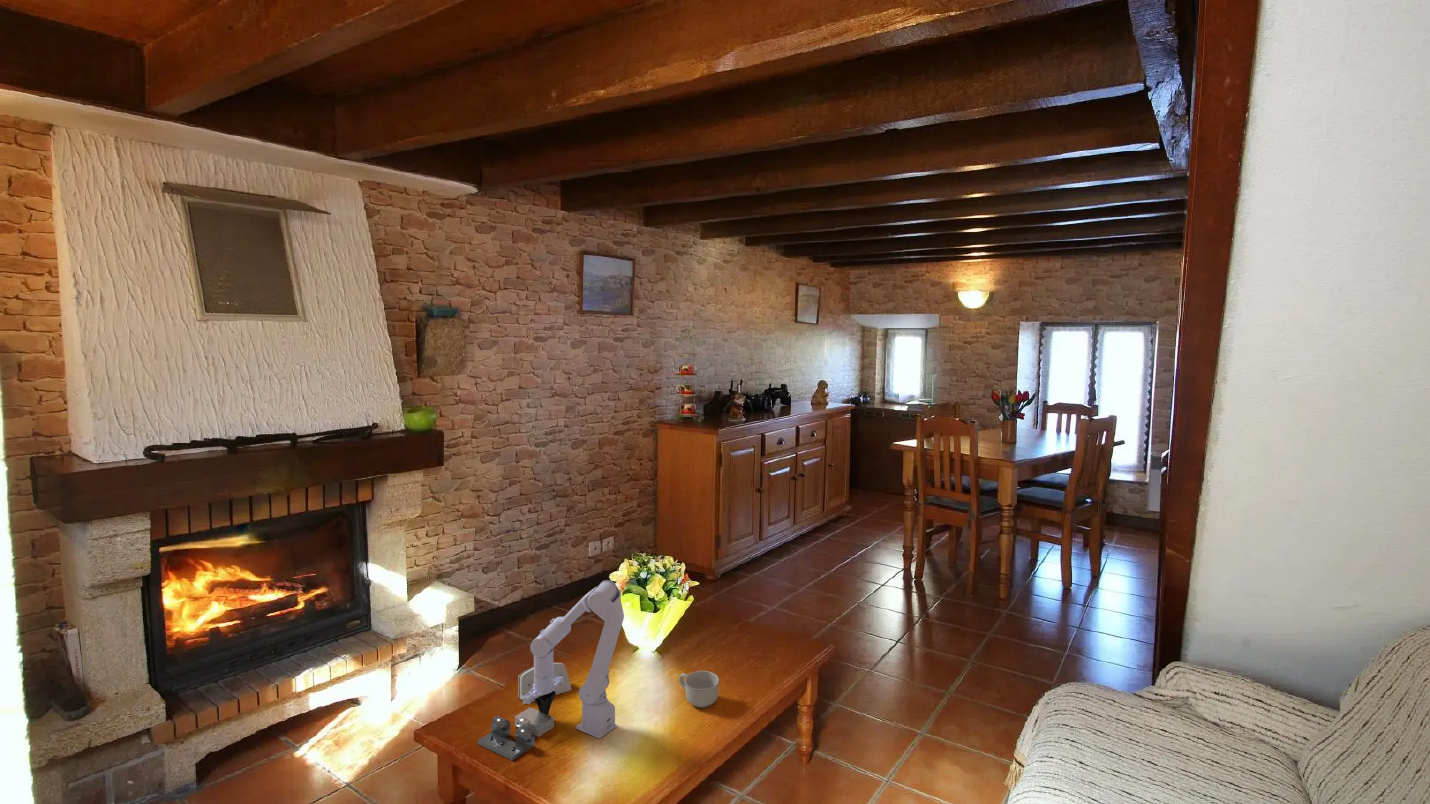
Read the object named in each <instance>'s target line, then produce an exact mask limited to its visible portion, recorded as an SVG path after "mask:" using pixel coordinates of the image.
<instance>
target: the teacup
mask: <svg viewBox="0 0 1430 804" xmlns="http://www.w3.org/2000/svg"><path fill="white" fill-rule="evenodd" d="M683 678H684V680H683ZM678 682H679V683H680V685H681V687H682V688H683V689H684V690H685V697H686V700H687V701H688V702H689V703H690V704H691V705H692V706H694V707H696V708H700V709H701V708H708V707H710V706H712V705H713V704H714V703H716V701H717V700H718V697H719V683H720V679H719V676H718V675H717V674H715V673H714V672H711V671H708V670H697V671H693V672H690V673H688V674H687V673H685V672H683V673H680V675H679V676H678Z"/></svg>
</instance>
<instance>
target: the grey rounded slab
mask: <svg viewBox="0 0 1430 804" xmlns="http://www.w3.org/2000/svg"><path fill="white" fill-rule="evenodd" d="M553 666H554V678H555V677H558V676H561V677H563V684H561V685H560V684H559V685H557V687H556V688H555V689H554V690H553V691H555V692H556V695H560V693H561V694H564V693H566V692H570V691H572V689H573V688H572V685H571V681H570V679H569V674H568V671H567V667H566V665H565V664H564V663H562V662H555V661H553ZM517 682H518V685H517V686H518V689H517V691H518V692H517V696H518V697H517V698H518V699H519V700H522V704H523V705H527V704H526V703H524V696H525V695H527V694H528V693H529V691H530V690H531V689H532V688H533V684H534V666H531V667H530V668H528V669H526V670H524V671H523V672H521V673H520V674H519V675H518V678H517ZM533 702H535V700H533V701H531V703H533Z"/></svg>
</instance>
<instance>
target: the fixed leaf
mask: <svg viewBox="0 0 1430 804" xmlns="http://www.w3.org/2000/svg"><path fill="white" fill-rule="evenodd" d="M490 725H491V731H490V732H489V733H488V734H485V735H484V736H482V737H481V738H479V739H477V744H478V745H479V746H481V747H483V748H484V749H487V750H489V751H491V752H493V753H495V754H497V755H499V756H502V757H504V758H506V759H508V760H510V761H512V762H513V761H515V760H516V759H518V758H519V757H521V756H522V755H523V754H525V753H527V752H528V751H530V750H531V749H532V748H534V747H535V735H534V732H533V731H531V730H528V729H526V728H524V727H522V726H520V727H519V728H518V729H517V730H516V729H515V732H514V736H515V737H514V738H515V741H513V740H511V739H509V738H508V737H509V736H511V722H510V721H509V720H508V719H506V718H503V717H502V716H499V715H495V716H494V717H493V718H492V720H491V724H490Z"/></svg>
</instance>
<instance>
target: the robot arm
mask: <svg viewBox="0 0 1430 804" xmlns="http://www.w3.org/2000/svg"><path fill="white" fill-rule="evenodd" d="M621 596H622V591H621V590H620V589H619V587H618V586H617V584H616V583H615V581H614V582H613V581H611V580H603V581H601V582H600V583H599V584H598V585H597V586H595V587H594V588H592V589H591V590H590V591H588V592H587V593H586V594H585V595H584V596H582V598H581V599H580V600H579V601H578V602H577V603H576V604H575V605H574V606H572V608H571V609H570V610H569V611H568V612H567V613H566V614H565V615H564V616H557V617H556V618H554V617H553V618H552V619H550V621H549V624H548V625H547V626H546V628H545V629H544V628H543V629H542V630H540V631H539V634H538V636H536V637H535V638H534V639H533V640H532V642H531V644H530V648H529V649H530V653H531V654H532V655H533V667H534V684H533V688H532V689H531V690H530V691H529V693H528V694H527V695H525V696H524V703H526V704H525V705H531V703H532V702H531V701H533V700H535V701H534V702H535V703H536V705H537V707H538V711H540V712H542V713H545V714H547V715H549V713H550V709H551V705H552V703H553V701H554V700H555V697H556V692H555V691H553V690H554V689H555V688H556V687H557V685H559V684H560V685H561V684H563V677H561V676H558V677H555V678H554V666H553V662H554V648H555V647H556V646H557V645H558V644H559V643H560V642H561V641H562V640H563V639H564V638H565V637H566V636H567V635H569V634H570V632H571V630H572V624H573V623H574V622H575V621H577V620H578V619H579V618H580V617H581V616H582V615H583V614H584V613H585V612H586V613H592V612H593V613H594V614H595V615H597V617H599V618H600V619H601V620H602V621H603V622H604V624H603V627H602V631H601V634H600V638H599V641H598V644H597V647H596V651H595V654H594V658H593V661H592V664H591V666H590V667H591V668H590V670H589V672H588V674H587V676H586V679H585V680H584V684H583V685H581V686H580V688H579V690H578V698H579V699H580V700H579V701H581V723H579V724H578V725H576V726H575V729H576V730H578V731H581V732H583V733H585V734H587V735H590V736H592V737H594V738H597V739H601V738H603V737H604V736H605V735H607V734H608V733H609V732H610V731H611V732H612V731H613V729H614V728H616V727H617V726H618V725H617V723H616V707H615V705H614V703H612V702H611V701H610V700H609V699H608V697H607V690H606V689H607V688H608V686H609V685H610V677H609V675H610V669H609V668H610V665H611V661H612V659H613V656H614V651H615V648H616V645H617V642H618V638H619V637H620V631H621V629H622V625H623V622H624V619H625V613H624V608H623V605H622V604H623V603H622V599H621V598H622V597H621Z"/></svg>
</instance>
